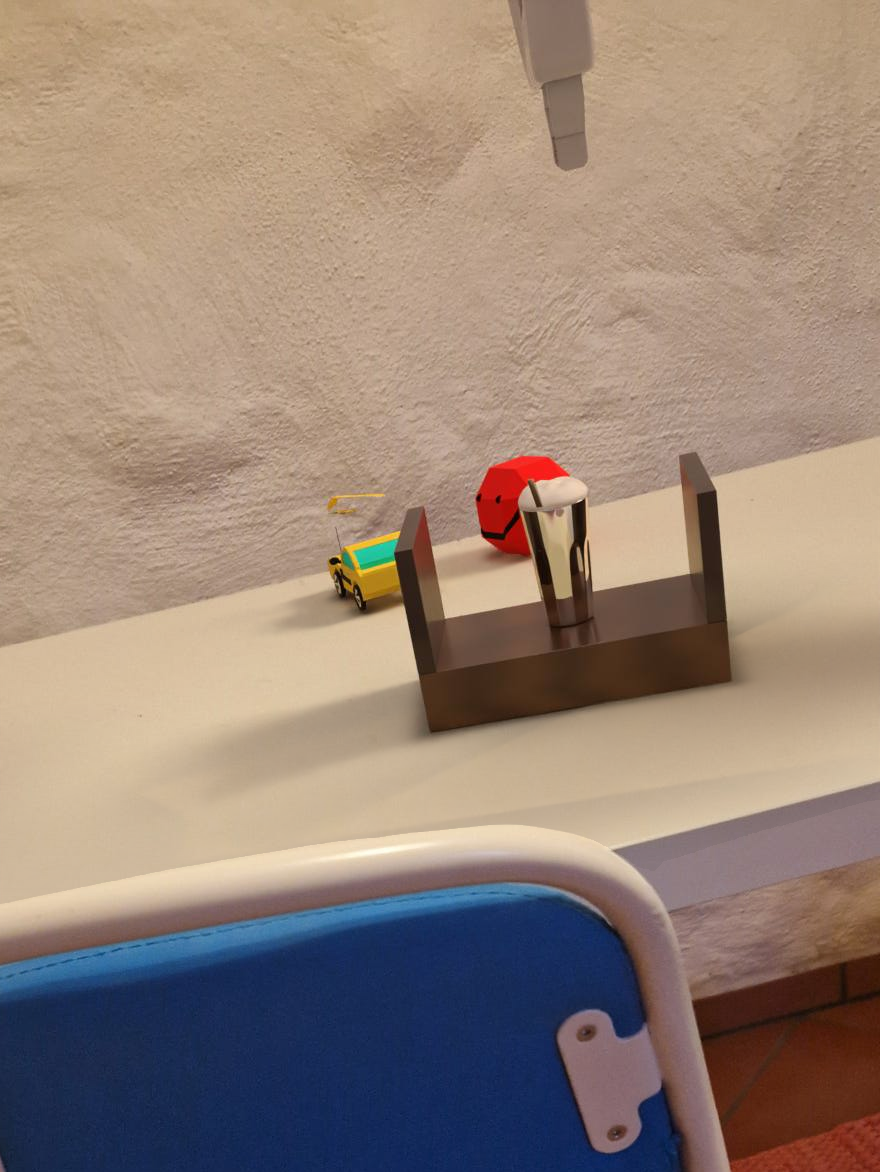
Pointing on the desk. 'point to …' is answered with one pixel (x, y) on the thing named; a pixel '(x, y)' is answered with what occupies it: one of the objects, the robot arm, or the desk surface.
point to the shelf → (570, 632)
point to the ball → (510, 500)
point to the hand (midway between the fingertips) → (571, 167)
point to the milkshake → (560, 547)
